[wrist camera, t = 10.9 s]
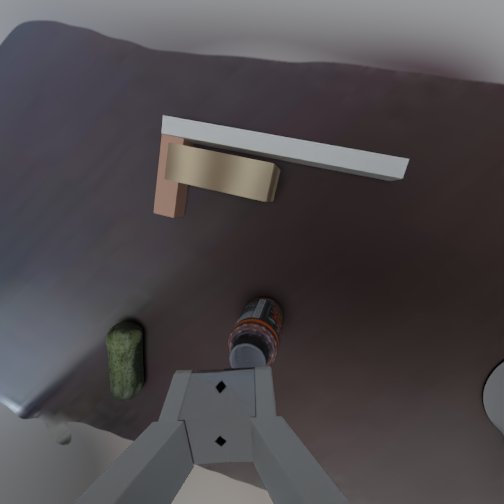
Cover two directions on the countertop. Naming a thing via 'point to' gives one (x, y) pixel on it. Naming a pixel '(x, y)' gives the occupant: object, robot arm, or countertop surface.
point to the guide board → (265, 145)
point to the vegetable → (125, 360)
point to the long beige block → (222, 172)
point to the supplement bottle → (256, 334)
